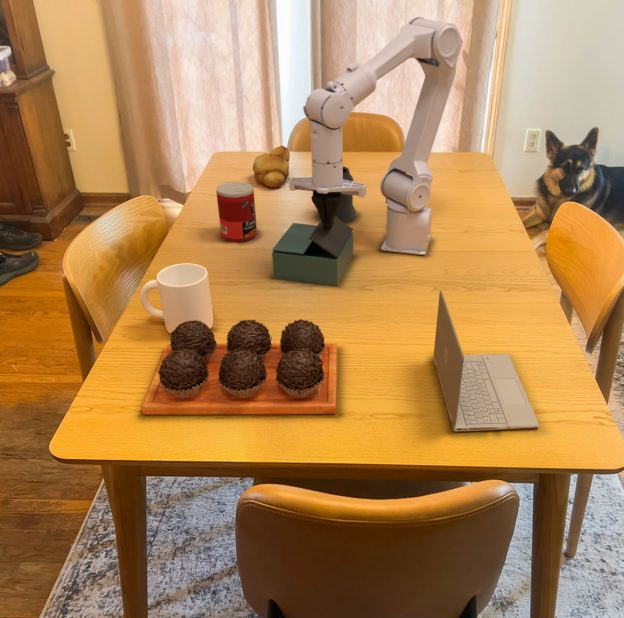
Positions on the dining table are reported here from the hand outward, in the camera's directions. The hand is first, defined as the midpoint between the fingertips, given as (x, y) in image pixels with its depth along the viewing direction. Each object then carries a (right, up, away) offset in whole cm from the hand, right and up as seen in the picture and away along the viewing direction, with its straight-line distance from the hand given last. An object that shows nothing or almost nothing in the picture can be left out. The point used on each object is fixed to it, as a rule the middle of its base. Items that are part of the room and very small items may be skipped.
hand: (328, 228), depth 131 cm
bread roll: (-16, +24, +43) cm, 52 cm away
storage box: (-3, -7, +6) cm, 9 cm away
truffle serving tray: (-12, -29, -26) cm, 41 cm away
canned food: (-20, +2, +18) cm, 27 cm away
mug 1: (-26, -20, -13) cm, 35 cm away
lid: (+1, -1, +1) cm, 1 cm away
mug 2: (+1, +8, +28) cm, 29 cm away
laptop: (+24, -30, -28) cm, 48 cm away
